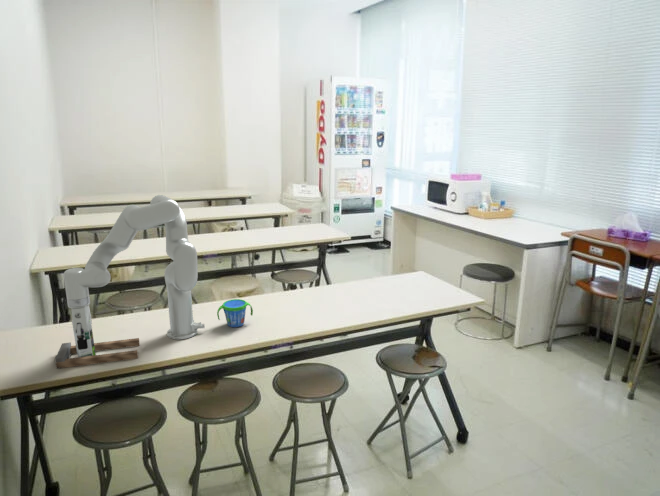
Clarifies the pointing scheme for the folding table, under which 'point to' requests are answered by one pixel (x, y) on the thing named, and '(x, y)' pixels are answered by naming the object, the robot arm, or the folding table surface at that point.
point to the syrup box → (90, 342)
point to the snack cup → (235, 312)
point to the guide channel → (66, 350)
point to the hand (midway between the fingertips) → (84, 344)
